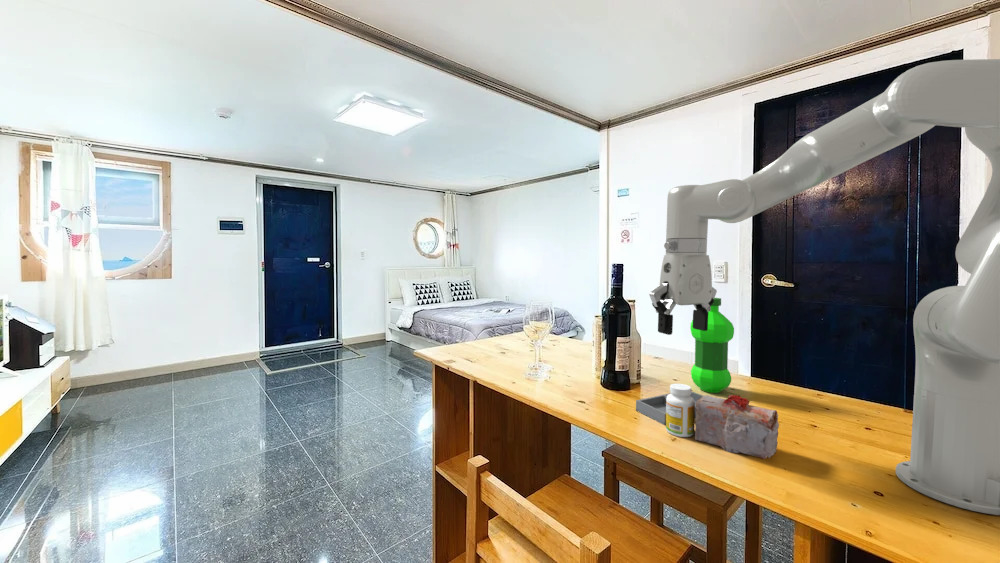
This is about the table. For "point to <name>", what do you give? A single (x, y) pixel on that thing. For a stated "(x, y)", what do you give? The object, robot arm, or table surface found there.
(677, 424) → the supplement bottle
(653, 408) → the divided tray
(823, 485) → the table surface
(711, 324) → the plastic bottle
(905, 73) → the robot arm
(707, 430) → the food item
